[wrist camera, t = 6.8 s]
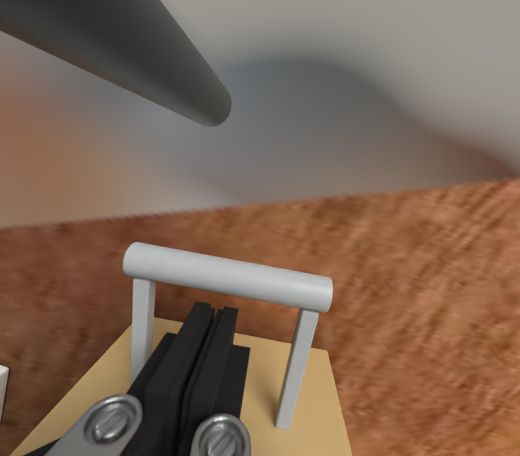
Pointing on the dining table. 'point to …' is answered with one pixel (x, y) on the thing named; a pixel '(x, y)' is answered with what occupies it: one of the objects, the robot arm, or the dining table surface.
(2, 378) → the milk
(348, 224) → the dining table surface
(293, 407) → the drawer
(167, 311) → the dining table surface
